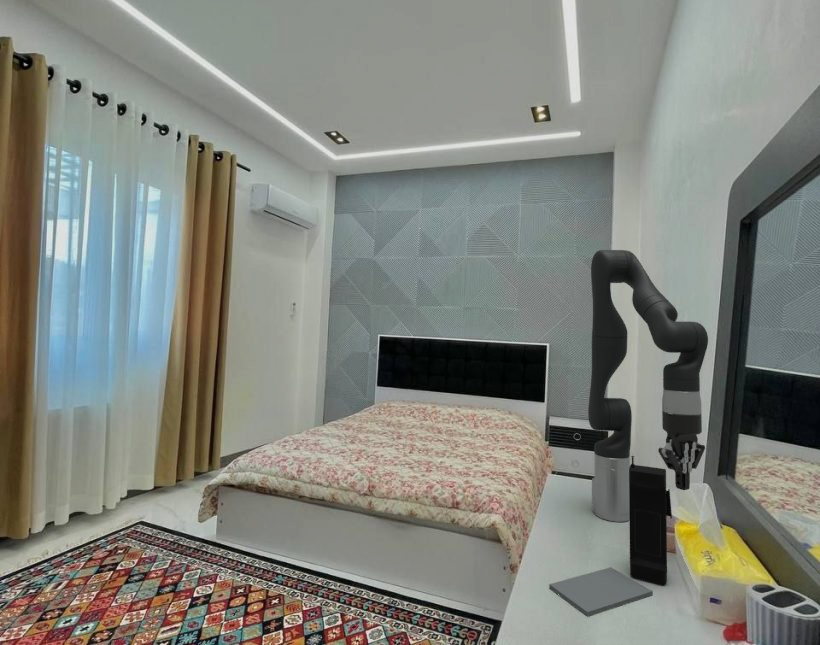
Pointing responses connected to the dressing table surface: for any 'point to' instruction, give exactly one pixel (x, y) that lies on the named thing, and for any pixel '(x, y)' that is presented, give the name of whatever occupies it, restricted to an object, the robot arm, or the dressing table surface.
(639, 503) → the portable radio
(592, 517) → the dressing table surface
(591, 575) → the charcoal pad
